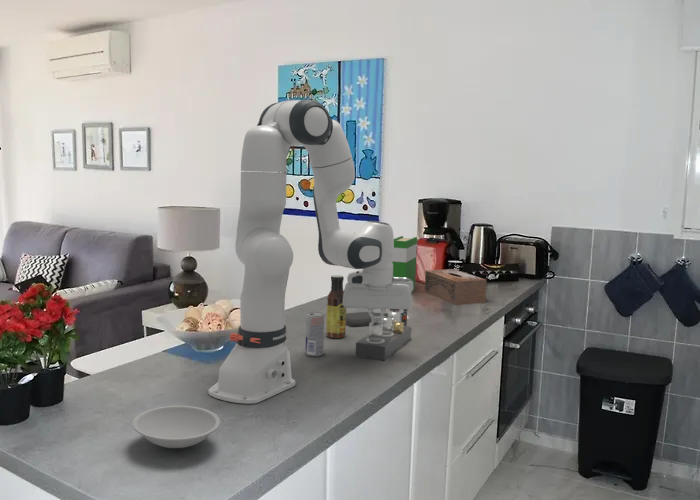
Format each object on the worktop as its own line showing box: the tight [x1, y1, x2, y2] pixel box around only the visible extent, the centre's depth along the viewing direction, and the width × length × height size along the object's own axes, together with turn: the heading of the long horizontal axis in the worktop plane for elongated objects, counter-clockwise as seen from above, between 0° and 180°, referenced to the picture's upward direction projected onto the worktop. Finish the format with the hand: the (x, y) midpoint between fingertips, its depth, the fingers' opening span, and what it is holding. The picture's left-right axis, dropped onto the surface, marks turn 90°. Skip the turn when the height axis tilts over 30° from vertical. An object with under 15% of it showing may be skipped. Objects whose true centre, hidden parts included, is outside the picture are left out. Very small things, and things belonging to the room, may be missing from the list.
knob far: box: [387, 310, 401, 329], centre depth 184 cm, size 4×4×5 cm
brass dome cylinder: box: [394, 322, 404, 334], centre depth 179 cm, size 3×3×3 cm
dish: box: [132, 404, 221, 449], centre depth 112 cm, size 18×14×5 cm
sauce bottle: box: [325, 274, 347, 339], centre depth 186 cm, size 7×6×20 cm
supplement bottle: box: [389, 309, 408, 326], centre depth 197 cm, size 6×6×11 cm
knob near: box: [368, 322, 383, 342], centre depth 170 cm, size 4×4×5 cm
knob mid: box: [381, 316, 392, 335], centre depth 177 cm, size 4×4×5 cm
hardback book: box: [392, 235, 418, 291], centre depth 255 cm, size 18×7×24 cm, turn 159°
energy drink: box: [304, 311, 325, 357], centre depth 169 cm, size 5×5×12 cm
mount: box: [355, 326, 412, 361], centre depth 177 cm, size 24×9×4 cm, turn 156°
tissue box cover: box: [424, 268, 487, 306], centre depth 249 cm, size 26×14×10 cm, turn 21°
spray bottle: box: [346, 311, 410, 328], centre depth 208 cm, size 3×11×24 cm
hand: (376, 322), depth 169 cm, fingers closed, pressing on knob near
